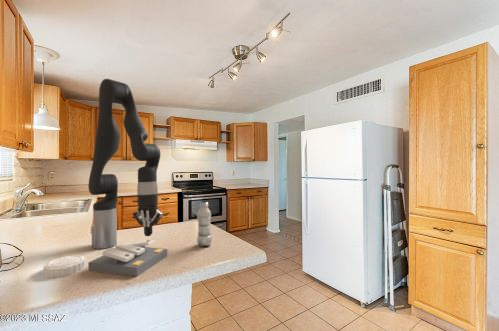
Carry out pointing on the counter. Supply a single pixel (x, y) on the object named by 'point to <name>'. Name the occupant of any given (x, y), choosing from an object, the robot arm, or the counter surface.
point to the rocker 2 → (143, 242)
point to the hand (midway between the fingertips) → (148, 235)
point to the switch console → (128, 262)
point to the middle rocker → (130, 248)
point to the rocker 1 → (118, 254)
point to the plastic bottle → (204, 225)
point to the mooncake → (64, 266)
